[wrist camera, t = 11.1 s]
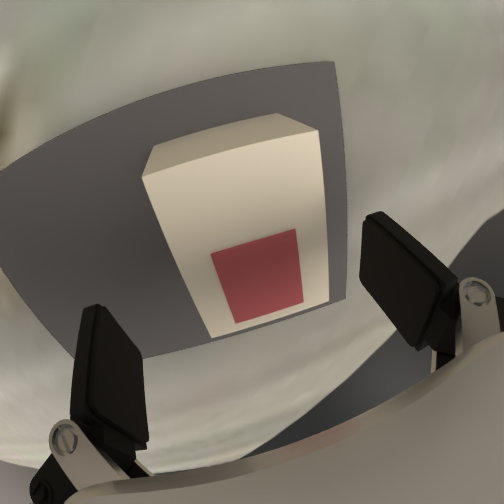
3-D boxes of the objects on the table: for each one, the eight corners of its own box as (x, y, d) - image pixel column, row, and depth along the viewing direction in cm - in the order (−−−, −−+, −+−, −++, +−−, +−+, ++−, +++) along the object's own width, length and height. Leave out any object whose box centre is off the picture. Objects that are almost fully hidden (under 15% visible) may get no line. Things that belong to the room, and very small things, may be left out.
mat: (86, 364, 22) (85, 369, 21) (-32, 195, 11) (-37, 199, 11) (342, 293, 24) (345, 298, 23) (329, 61, 13) (334, 61, 13)
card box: (153, 145, 13) (141, 178, 9) (276, 113, 14) (319, 130, 10) (202, 278, 19) (212, 339, 14) (297, 250, 19) (329, 302, 15)
